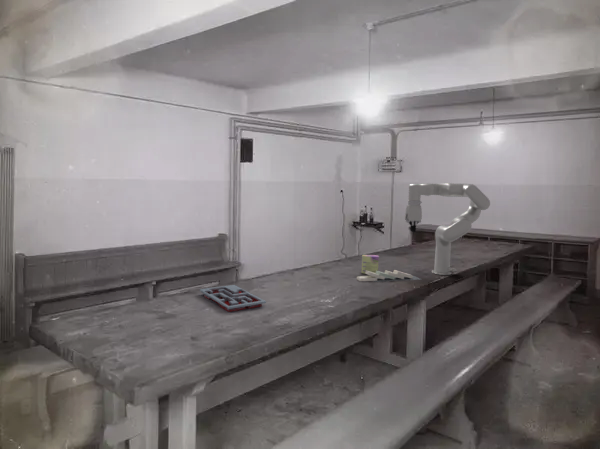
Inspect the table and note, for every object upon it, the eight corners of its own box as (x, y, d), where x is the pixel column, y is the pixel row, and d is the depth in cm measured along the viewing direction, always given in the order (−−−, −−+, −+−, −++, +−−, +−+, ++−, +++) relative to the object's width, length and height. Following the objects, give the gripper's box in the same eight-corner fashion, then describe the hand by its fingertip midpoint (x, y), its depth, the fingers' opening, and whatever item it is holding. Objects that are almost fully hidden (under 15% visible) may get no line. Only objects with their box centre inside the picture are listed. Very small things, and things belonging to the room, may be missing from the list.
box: (377, 272, 299) (378, 255, 297) (378, 275, 293) (378, 256, 292) (361, 272, 300) (362, 254, 298) (361, 274, 294) (362, 255, 293)
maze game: (266, 307, 221) (266, 301, 220) (228, 314, 210) (228, 307, 209) (234, 290, 249) (234, 284, 249) (199, 295, 239) (199, 289, 238)
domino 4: (400, 274, 285) (385, 270, 282) (404, 276, 281) (389, 271, 277) (399, 277, 285) (384, 272, 282) (403, 279, 281) (388, 274, 277)
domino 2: (381, 275, 282) (365, 270, 278) (385, 276, 277) (369, 272, 273) (380, 277, 282) (364, 273, 278) (384, 279, 277) (368, 275, 273)
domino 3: (391, 275, 284) (376, 270, 280) (395, 276, 279) (380, 272, 275) (390, 277, 284) (375, 273, 280) (394, 279, 279) (379, 275, 275)
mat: (413, 276, 291) (413, 275, 291) (421, 280, 282) (422, 279, 282) (367, 278, 282) (367, 277, 282) (374, 282, 272) (374, 281, 272)
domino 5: (408, 274, 287) (394, 269, 284) (413, 276, 282) (398, 271, 279) (407, 276, 287) (393, 272, 284) (412, 278, 282) (397, 274, 279)
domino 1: (373, 275, 280) (356, 276, 277) (377, 277, 275) (360, 278, 272) (373, 278, 280) (356, 279, 277) (377, 280, 275) (360, 281, 272)
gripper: (420, 202, 302) (419, 230, 304) (400, 203, 297) (399, 231, 299) (427, 203, 295) (426, 232, 297) (407, 203, 290) (406, 232, 292)
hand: (413, 231), depth 298 cm, fingers closed
